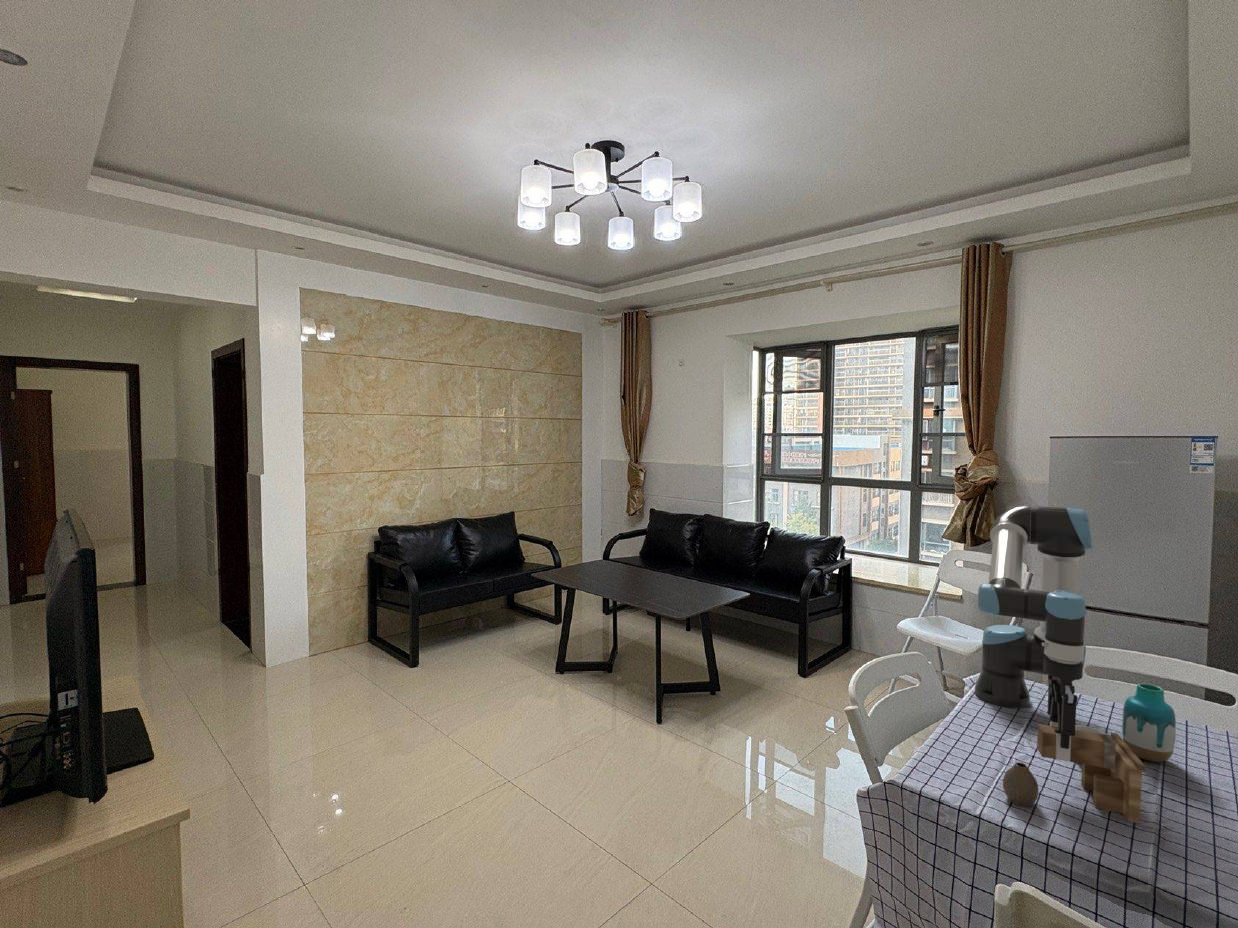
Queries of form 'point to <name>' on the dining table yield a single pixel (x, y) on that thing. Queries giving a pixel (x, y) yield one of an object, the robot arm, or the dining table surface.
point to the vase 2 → (1149, 724)
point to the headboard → (1117, 782)
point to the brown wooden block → (1079, 747)
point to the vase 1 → (1020, 785)
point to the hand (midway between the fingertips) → (1059, 754)
